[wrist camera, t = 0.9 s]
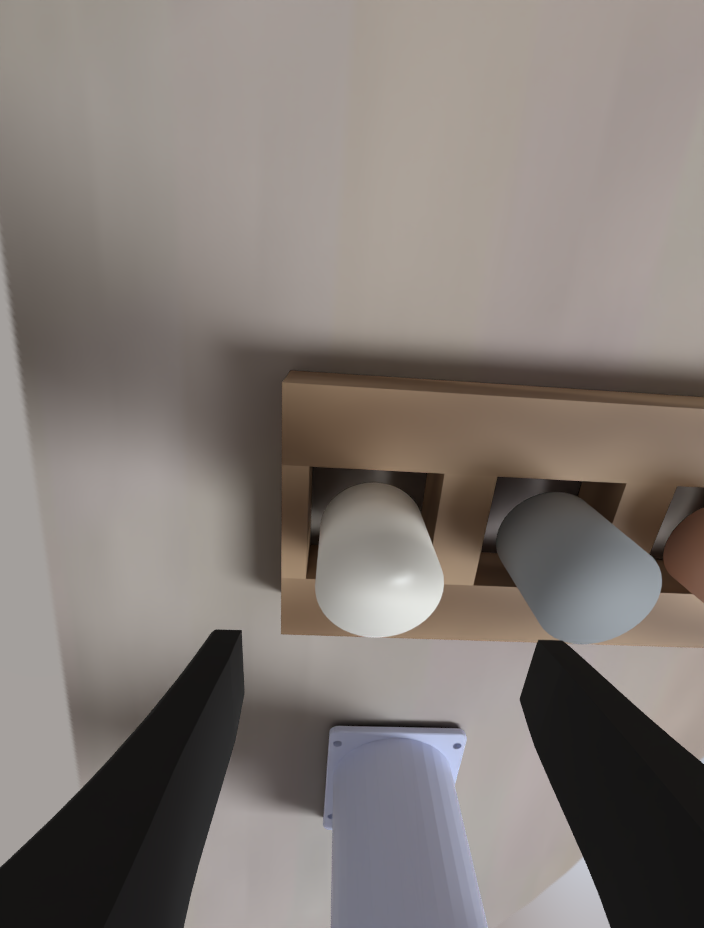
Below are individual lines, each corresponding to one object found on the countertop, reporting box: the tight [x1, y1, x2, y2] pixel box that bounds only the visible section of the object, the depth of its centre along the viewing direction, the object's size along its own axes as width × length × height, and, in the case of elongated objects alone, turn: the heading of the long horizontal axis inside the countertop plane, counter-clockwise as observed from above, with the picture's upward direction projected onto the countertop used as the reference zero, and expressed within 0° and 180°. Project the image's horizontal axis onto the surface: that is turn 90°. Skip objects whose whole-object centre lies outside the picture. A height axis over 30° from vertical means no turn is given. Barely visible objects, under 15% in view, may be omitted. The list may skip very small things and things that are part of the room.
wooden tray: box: [281, 370, 704, 648], centre depth 17 cm, size 11×21×2 cm, turn 86°
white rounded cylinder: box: [315, 483, 444, 637], centre depth 14 cm, size 4×4×4 cm
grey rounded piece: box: [496, 492, 662, 644], centre depth 15 cm, size 4×4×4 cm
